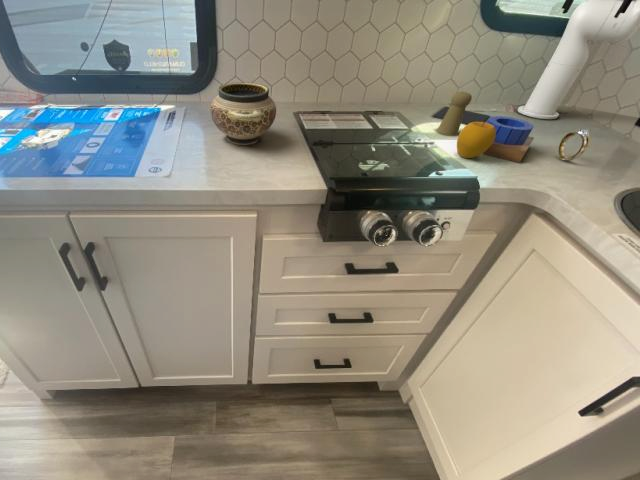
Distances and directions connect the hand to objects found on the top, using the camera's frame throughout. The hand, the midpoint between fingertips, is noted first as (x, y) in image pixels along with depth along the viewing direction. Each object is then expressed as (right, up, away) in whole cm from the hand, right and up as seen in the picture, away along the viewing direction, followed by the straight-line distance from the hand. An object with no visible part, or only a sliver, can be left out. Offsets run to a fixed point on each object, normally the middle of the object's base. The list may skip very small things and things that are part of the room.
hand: (589, 15), depth 79 cm
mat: (-3, -1, +42) cm, 42 cm away
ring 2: (+9, -27, +17) cm, 33 cm away
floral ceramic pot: (-79, -19, +21) cm, 84 cm away
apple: (-18, -26, +16) cm, 35 cm away
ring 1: (-5, -19, +19) cm, 27 cm away
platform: (-6, -21, +21) cm, 30 cm away
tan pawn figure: (-15, -12, +30) cm, 36 cm away
